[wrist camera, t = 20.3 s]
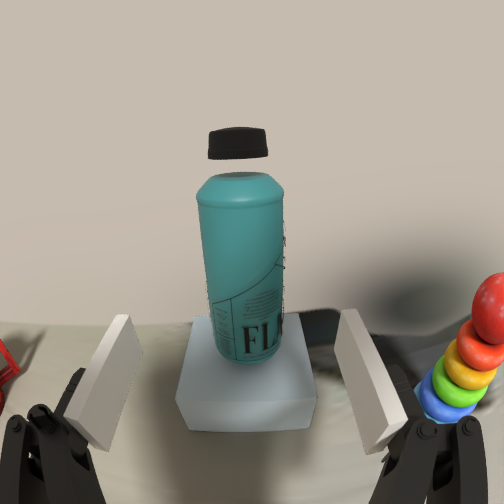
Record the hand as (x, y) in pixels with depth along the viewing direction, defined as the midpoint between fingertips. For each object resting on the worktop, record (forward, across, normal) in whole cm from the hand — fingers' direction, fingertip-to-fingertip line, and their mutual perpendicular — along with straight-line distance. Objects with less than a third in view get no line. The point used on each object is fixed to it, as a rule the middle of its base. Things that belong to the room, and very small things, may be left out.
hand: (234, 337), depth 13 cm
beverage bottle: (+9, 0, -10) cm, 14 cm away
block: (+9, 0, -16) cm, 19 cm away
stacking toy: (0, +18, -17) cm, 24 cm away
